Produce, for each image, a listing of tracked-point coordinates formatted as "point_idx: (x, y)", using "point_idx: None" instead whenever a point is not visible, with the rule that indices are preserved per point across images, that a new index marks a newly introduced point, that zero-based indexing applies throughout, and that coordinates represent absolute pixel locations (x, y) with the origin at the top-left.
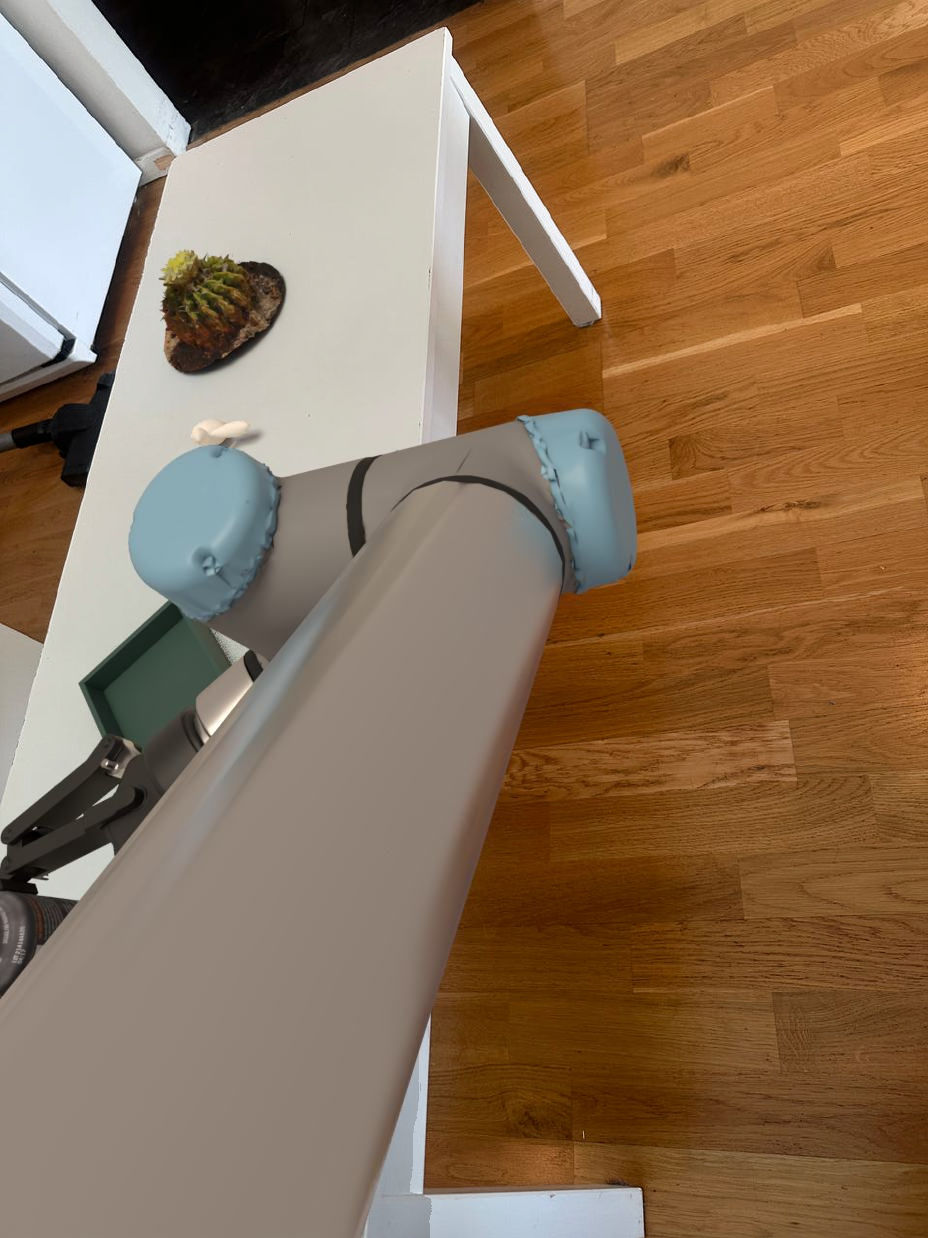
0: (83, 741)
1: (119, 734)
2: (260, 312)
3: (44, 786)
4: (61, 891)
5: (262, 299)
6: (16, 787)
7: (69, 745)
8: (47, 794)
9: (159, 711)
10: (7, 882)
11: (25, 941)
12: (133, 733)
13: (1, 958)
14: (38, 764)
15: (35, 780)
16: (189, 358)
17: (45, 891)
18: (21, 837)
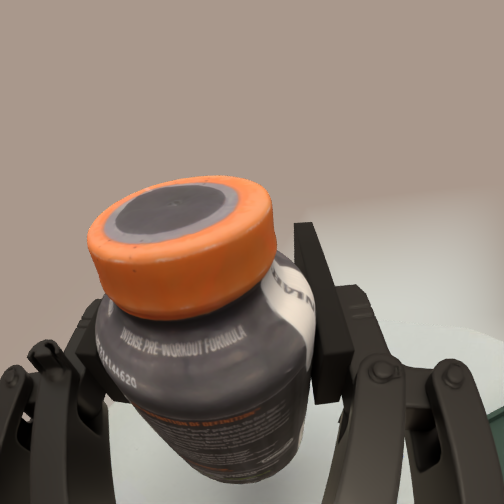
0: (498, 384)
1: (496, 418)
2: None
3: (476, 352)
4: (401, 359)
5: None
6: (480, 332)
7: (498, 372)
8: (501, 496)
9: (500, 455)
10: (342, 363)
11: (112, 375)
12: (493, 430)
13: (110, 316)
14: (491, 348)
15: (481, 346)
16: None
17: (406, 347)
18: (434, 411)
